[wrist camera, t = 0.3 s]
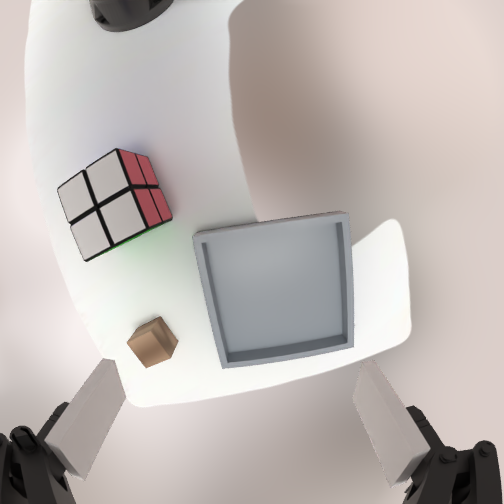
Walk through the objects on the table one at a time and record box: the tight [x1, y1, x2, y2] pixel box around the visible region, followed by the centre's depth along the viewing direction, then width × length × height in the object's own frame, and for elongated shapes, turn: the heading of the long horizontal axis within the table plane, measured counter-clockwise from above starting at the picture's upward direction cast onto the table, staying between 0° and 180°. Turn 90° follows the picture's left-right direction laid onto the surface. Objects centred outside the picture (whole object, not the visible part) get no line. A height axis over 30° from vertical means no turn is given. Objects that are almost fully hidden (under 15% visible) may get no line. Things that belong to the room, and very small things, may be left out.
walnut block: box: [127, 316, 178, 368], centre depth 39 cm, size 5×5×5 cm
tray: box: [192, 211, 354, 369], centre depth 38 cm, size 20×20×4 cm
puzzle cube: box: [57, 148, 172, 262], centre depth 32 cm, size 10×10×10 cm
